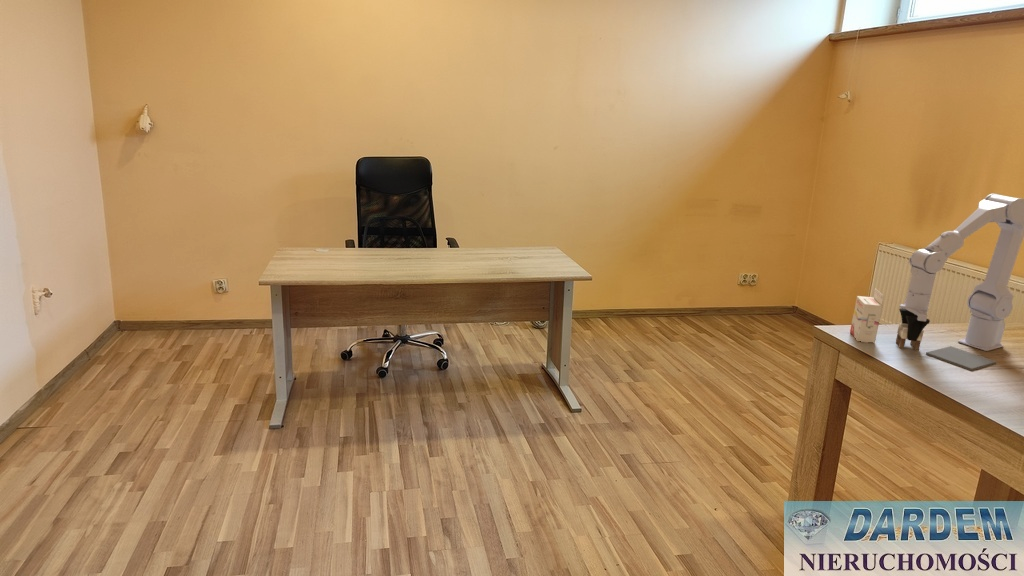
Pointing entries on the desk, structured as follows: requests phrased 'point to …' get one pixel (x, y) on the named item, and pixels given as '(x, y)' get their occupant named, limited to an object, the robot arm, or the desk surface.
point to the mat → (961, 358)
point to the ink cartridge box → (867, 317)
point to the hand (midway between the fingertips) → (909, 337)
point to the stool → (903, 336)
